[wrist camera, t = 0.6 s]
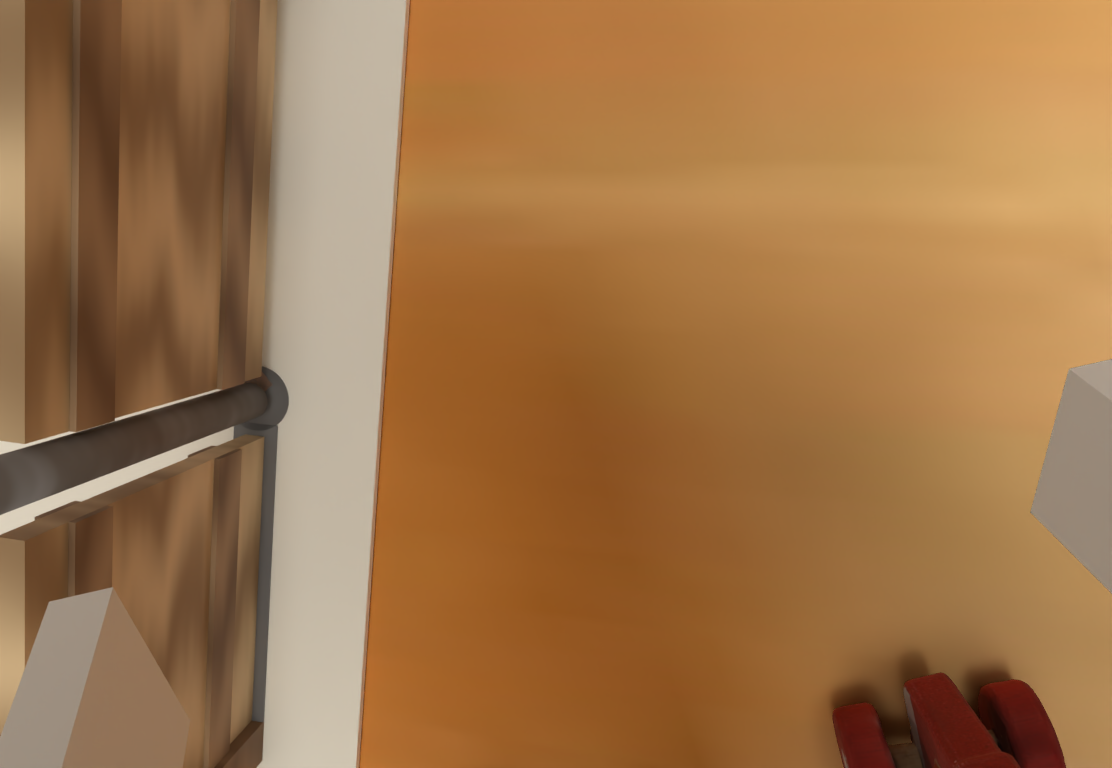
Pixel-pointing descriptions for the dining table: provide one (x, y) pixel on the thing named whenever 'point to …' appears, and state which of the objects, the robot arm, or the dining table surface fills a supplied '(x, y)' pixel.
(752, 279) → the dining table surface
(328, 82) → the card
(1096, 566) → the robot arm
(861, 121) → the dining table surface
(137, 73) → the hinged fence section
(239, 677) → the fixed fence section
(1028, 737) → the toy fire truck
